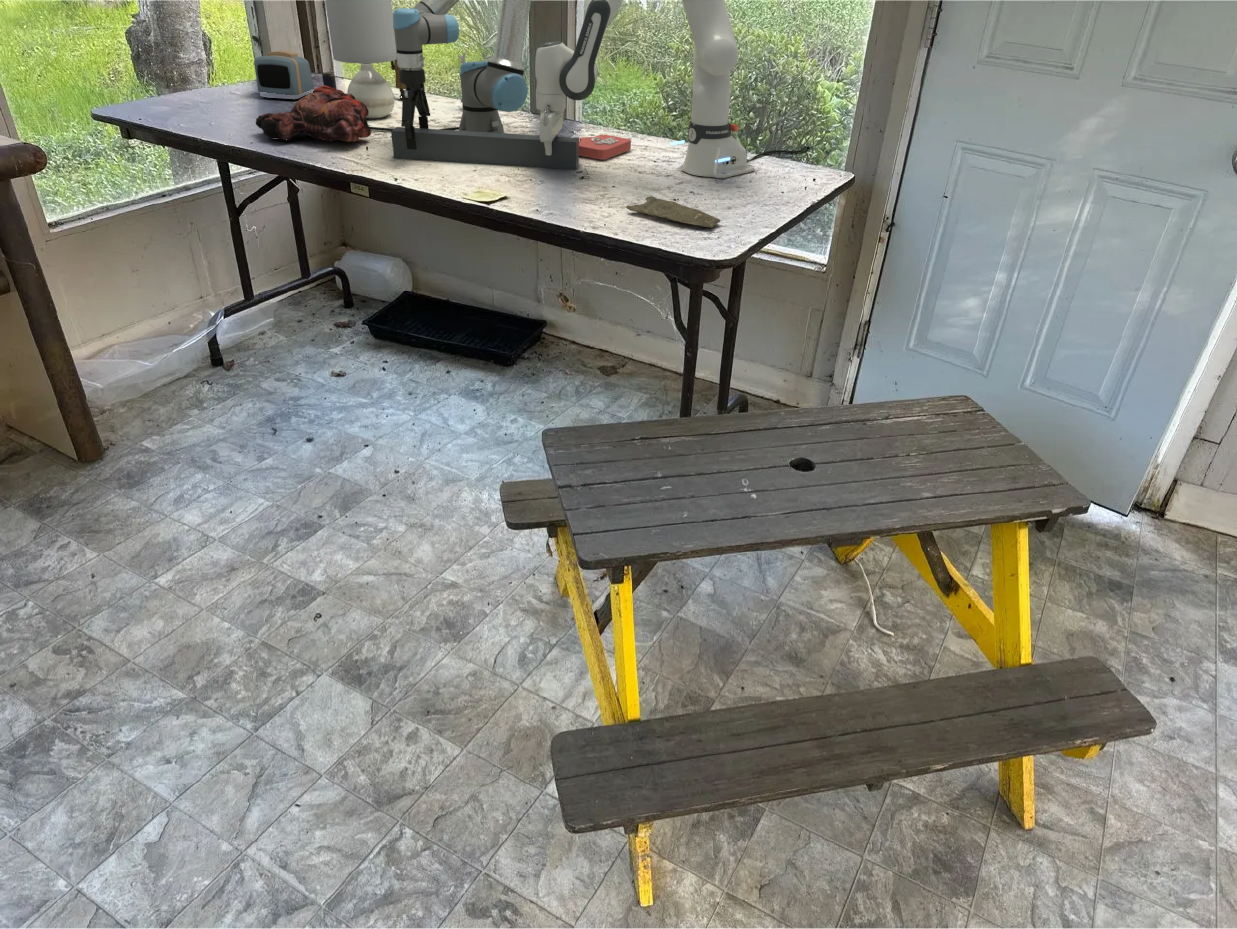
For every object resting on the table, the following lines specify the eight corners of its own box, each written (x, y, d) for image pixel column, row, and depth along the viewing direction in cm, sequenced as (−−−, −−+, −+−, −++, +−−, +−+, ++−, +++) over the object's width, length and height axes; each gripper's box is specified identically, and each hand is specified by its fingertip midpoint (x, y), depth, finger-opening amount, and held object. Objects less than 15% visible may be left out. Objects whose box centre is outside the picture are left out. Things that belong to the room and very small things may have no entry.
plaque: (595, 130, 282) (633, 137, 276) (595, 142, 284) (633, 149, 278) (564, 140, 270) (603, 148, 263) (564, 153, 272) (603, 161, 265)
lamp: (416, 115, 310) (403, -11, 287) (372, 125, 294) (355, -7, 272) (373, 106, 319) (358, -16, 296) (328, 116, 304) (309, -13, 281)
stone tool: (623, 212, 224) (706, 233, 212) (624, 201, 222) (707, 222, 211) (646, 203, 231) (727, 222, 220) (647, 192, 230) (728, 211, 218)
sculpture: (388, 148, 274) (381, 105, 266) (300, 168, 259) (290, 124, 251) (331, 115, 299) (323, 75, 291) (247, 132, 285) (236, 91, 276)
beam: (393, 157, 262) (390, 130, 257) (399, 153, 266) (396, 126, 262) (576, 169, 258) (576, 142, 253) (578, 164, 262) (579, 137, 258)
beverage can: (339, 109, 314) (334, 74, 307) (318, 108, 314) (312, 73, 307) (346, 104, 321) (341, 69, 314) (325, 103, 321) (320, 69, 314)
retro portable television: (257, 98, 324) (248, 53, 316) (278, 90, 338) (270, 46, 329) (297, 101, 323) (289, 55, 314) (317, 93, 336) (310, 49, 327)
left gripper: (410, 76, 239) (418, 154, 251) (435, 61, 259) (441, 134, 271) (384, 75, 239) (393, 153, 251) (411, 60, 260) (418, 133, 272)
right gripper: (555, 110, 242) (556, 160, 249) (566, 96, 258) (567, 143, 266) (533, 109, 242) (534, 159, 250) (546, 95, 259) (547, 142, 267)
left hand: (418, 143), depth 261 cm, fingers open, 13 cm apart
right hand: (551, 150), depth 258 cm, fingers open, 8 cm apart
